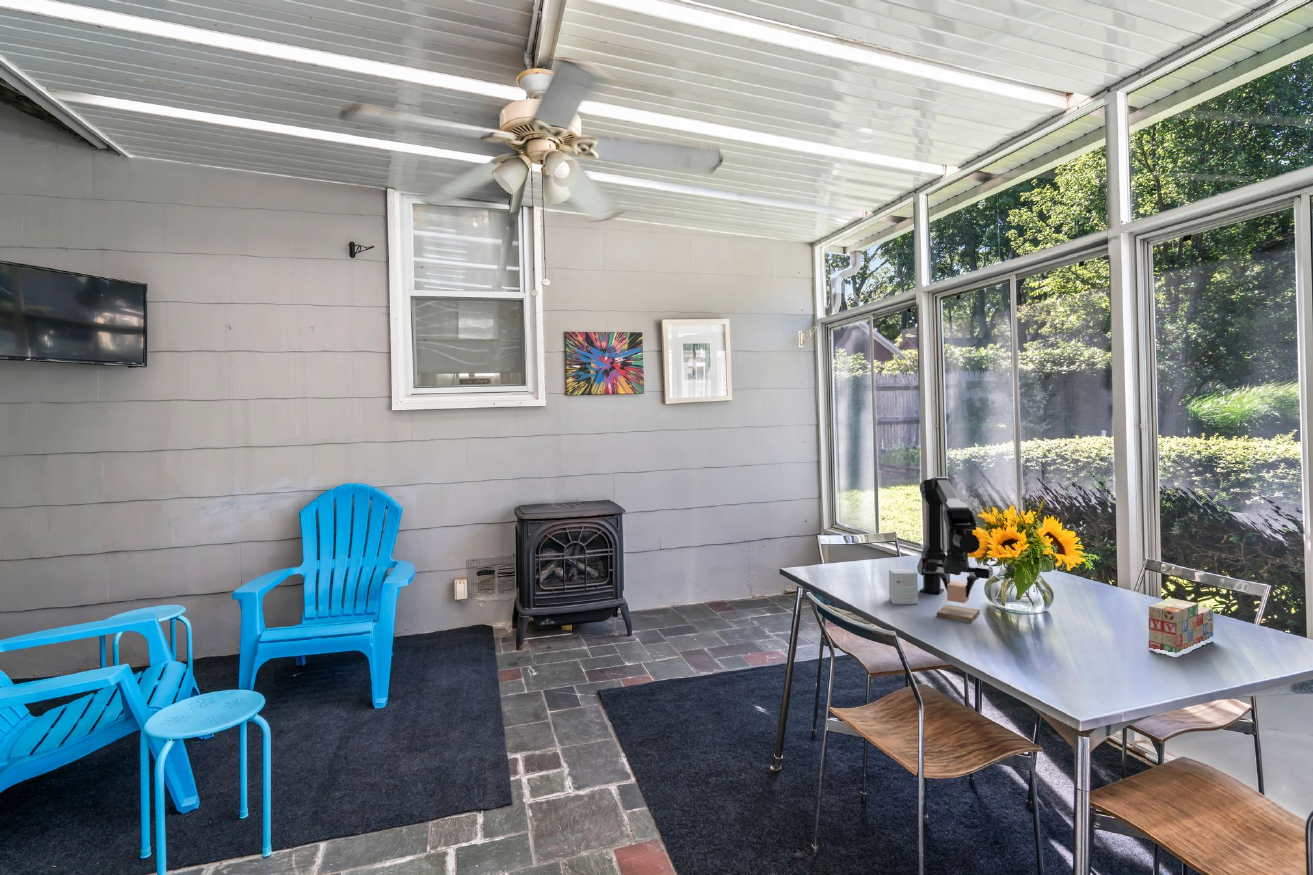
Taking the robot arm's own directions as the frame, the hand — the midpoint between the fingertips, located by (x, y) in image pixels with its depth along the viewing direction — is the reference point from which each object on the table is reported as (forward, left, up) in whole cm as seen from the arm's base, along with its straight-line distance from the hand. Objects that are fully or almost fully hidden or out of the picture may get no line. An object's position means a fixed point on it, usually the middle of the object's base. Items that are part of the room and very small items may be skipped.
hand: (958, 595), depth 202 cm
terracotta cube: (0, 0, -1) cm, 1 cm away
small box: (-5, -18, -6) cm, 20 cm away
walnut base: (0, 0, -7) cm, 7 cm away
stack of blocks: (-6, +54, -6) cm, 55 cm away
